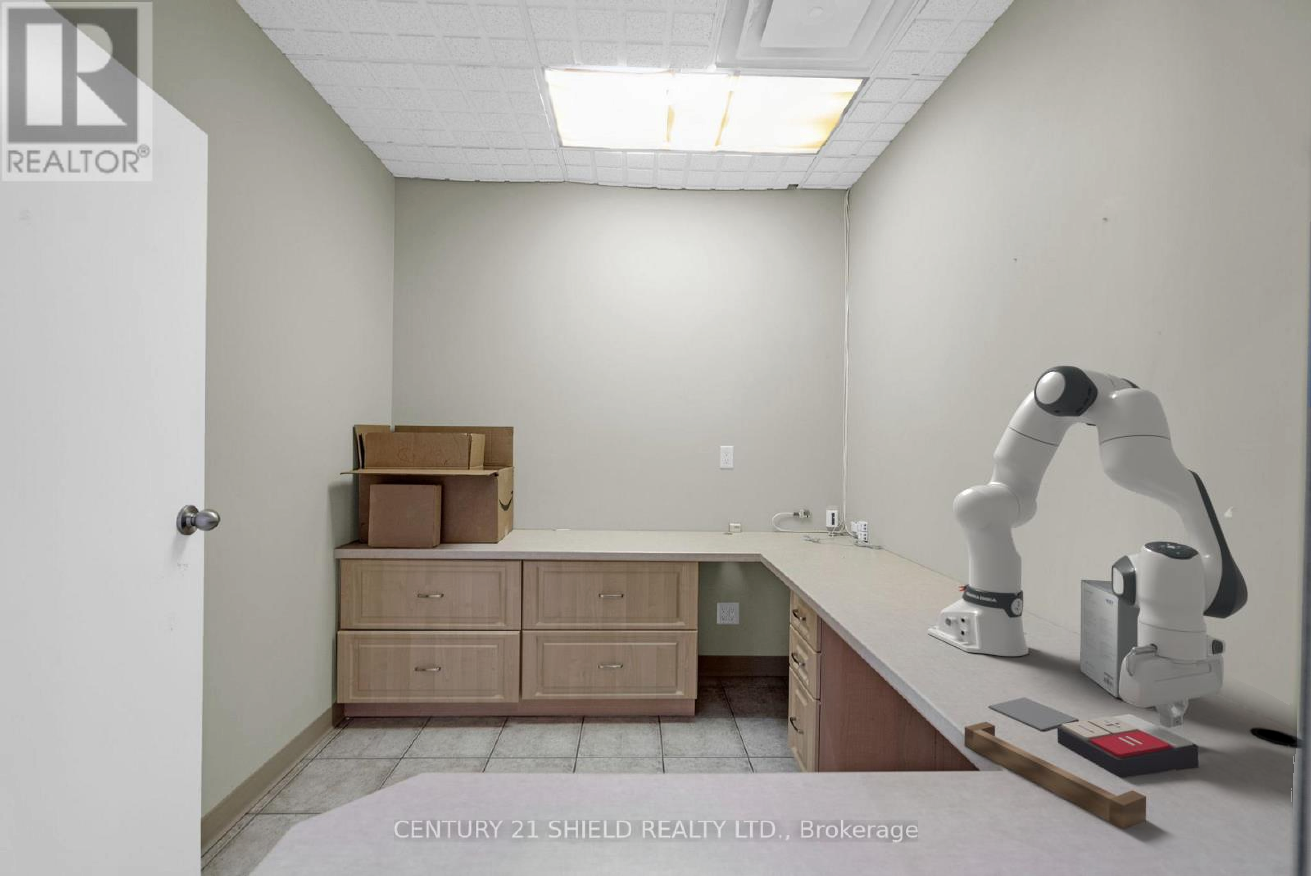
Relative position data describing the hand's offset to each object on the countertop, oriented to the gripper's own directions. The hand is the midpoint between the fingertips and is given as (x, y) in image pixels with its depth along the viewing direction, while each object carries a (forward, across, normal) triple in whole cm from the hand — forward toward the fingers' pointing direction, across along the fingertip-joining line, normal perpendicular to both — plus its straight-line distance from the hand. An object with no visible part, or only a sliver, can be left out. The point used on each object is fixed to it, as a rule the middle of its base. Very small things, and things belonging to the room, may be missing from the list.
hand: (1171, 725), depth 102 cm
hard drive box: (+2, +15, +19) cm, 24 cm away
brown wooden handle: (+2, -31, -3) cm, 31 cm away
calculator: (+3, -12, -1) cm, 13 cm away
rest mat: (+2, -14, +14) cm, 20 cm away
